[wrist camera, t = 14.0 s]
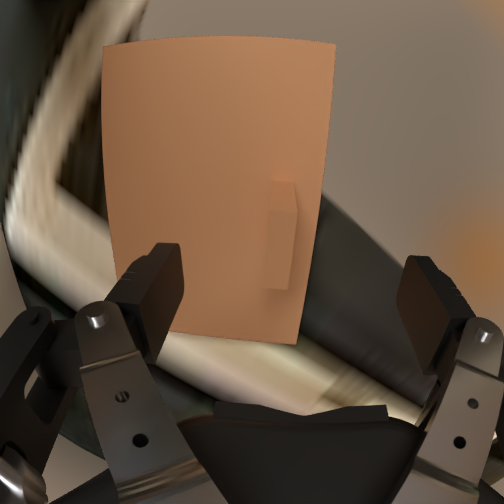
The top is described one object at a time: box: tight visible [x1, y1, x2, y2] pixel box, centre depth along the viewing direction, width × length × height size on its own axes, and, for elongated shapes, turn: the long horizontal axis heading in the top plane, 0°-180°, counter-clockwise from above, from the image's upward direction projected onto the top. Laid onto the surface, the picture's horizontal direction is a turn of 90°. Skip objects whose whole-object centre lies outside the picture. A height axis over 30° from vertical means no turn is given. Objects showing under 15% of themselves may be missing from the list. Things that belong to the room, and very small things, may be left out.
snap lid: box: [101, 36, 336, 344], centre depth 18 cm, size 14×21×7 cm, turn 177°
